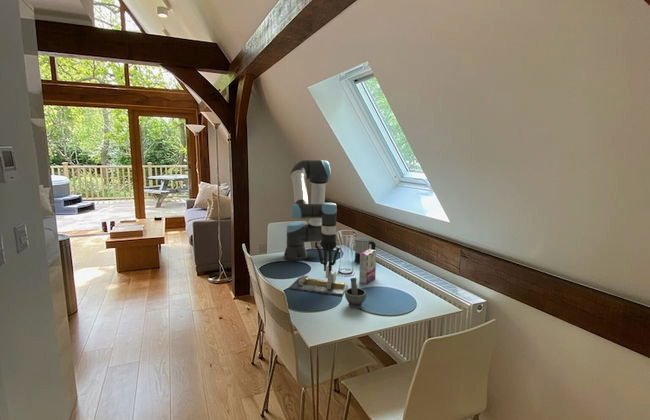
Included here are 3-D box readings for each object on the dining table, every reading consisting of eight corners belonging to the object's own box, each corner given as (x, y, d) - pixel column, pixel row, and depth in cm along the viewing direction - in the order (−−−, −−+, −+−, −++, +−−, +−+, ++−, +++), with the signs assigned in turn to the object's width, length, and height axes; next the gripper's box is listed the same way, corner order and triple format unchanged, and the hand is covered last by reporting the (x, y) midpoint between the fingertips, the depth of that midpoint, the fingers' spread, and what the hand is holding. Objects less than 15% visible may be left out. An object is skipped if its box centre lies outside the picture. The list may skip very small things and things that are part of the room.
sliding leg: (330, 283, 185) (330, 270, 184) (335, 283, 184) (336, 270, 183) (325, 288, 177) (326, 275, 176) (331, 289, 177) (331, 276, 175)
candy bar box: (367, 276, 200) (368, 248, 197) (375, 278, 197) (376, 250, 194) (358, 282, 191) (359, 253, 188) (366, 284, 188) (368, 255, 185)
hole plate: (297, 280, 192) (297, 278, 191) (347, 287, 184) (347, 285, 184) (289, 288, 180) (289, 286, 180) (342, 296, 172) (342, 293, 172)
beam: (300, 280, 189) (300, 275, 188) (345, 286, 182) (345, 280, 181) (295, 285, 182) (295, 279, 182) (341, 291, 175) (341, 286, 175)
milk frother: (360, 264, 220) (361, 241, 217) (344, 258, 232) (345, 236, 230) (377, 260, 228) (378, 238, 225) (360, 254, 240) (361, 233, 238)
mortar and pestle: (367, 310, 158) (369, 285, 156) (347, 311, 156) (348, 286, 154) (361, 299, 169) (362, 275, 167) (342, 300, 167) (343, 276, 165)
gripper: (314, 233, 177) (313, 278, 181) (339, 236, 173) (337, 281, 177) (318, 230, 184) (317, 273, 188) (342, 232, 180) (341, 276, 184)
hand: (327, 277), depth 182 cm, fingers closed
